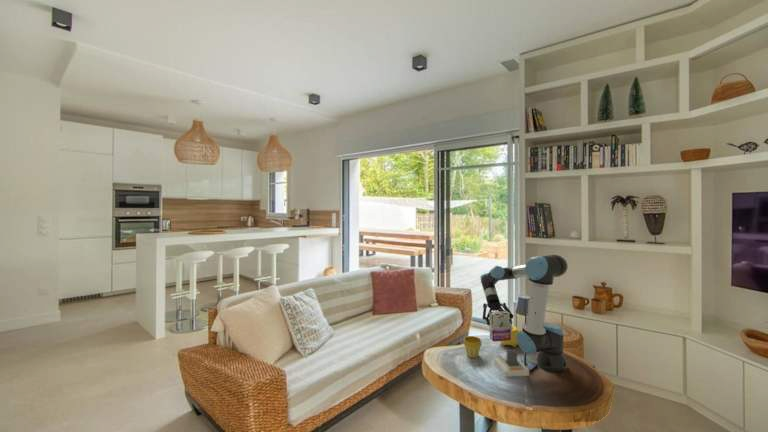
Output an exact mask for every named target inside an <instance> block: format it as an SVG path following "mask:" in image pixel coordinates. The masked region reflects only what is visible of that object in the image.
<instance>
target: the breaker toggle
mask: <svg viewBox="0 0 768 432" xmlns="http://www.w3.org/2000/svg"><path fill="white" fill-rule="evenodd" d="M506 357H507V361H505V362H506V363H507V364H508V365H509V366H519V364H518V362H517V358H518V352H517V350H506Z"/></svg>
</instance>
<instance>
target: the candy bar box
mask: <svg viewBox="0 0 768 432" xmlns="http://www.w3.org/2000/svg"><path fill="white" fill-rule="evenodd" d="M488 313H489V319H490V320H491V324H492V328H493V330H492V331H490V330H489V339H490V340H491V341H492V342H501V341H507V340H511V333H510V313H509V312H507V311H505V310H504V311H491V312H489V311H488Z"/></svg>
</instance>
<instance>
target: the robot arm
mask: <svg viewBox="0 0 768 432" xmlns="http://www.w3.org/2000/svg"><path fill="white" fill-rule="evenodd" d="M567 270H568V262H567V261H566V259H565V258H564V257H562V256H561V255H559V254H549V255H537V256H532V257H530V258H529V259H527V261H526V263H524V264H521V265H516V266H509V267H502V266H499V265H495V266H493V267H492V268H491V269H490V271H489V272H486V273H483V274H481V275H480V282H481V286H482V289H483V293H484V296H485V299H486V303H483V305H482V308H483V311H482V320H484V321H485V322H486V325H487V326H488V327H489V332H490V331H492V330H493V328H492V324H491V320H490V319H489V312H495V311H507V312H509V313H510V331H512V329H513V327H512V326H513V320H512V319H514V315H513V313H512V312H511V310H510V308H509V307H508V306H507V303H506V302H503V303H501V302H500V298H499V295H498V292H497V289H496V288H497V287H496V284H497V283H498V282H499V281H500V282H501V281H506V280H516V279H521V278H528V281H529V282H530V289H529V297H528V307H527V312H528V313H527V314H526V322H524V323H523V324H522V329H521V330H522V331H520V332H519V333H518V334H517V342H518V347H519V348H520V350H522V351H523V352H524V353H525V354H527V355H528V354H529V355H531V354H537V353H538V354H537V357H536V364H537V366H538V367H539V368H540V369H543V370H545V371H548V372H552V373H563V372H566V371H567V368H568V365H567V363H568V362H567V361H566V358H565V355H564V329H563V328H562V327H561V326H559V325H556V324H554V323H550V322H545V318H546V311H547V304H548V296H549V289H550V287H551V286H552V285H553V284H554V278H558V277H562V276H563V275H564V274H566V273H567ZM532 298H533V299H532ZM487 308H489V309H488V312H487ZM535 312H536V314H535Z"/></svg>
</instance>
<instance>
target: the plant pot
mask: <svg viewBox="0 0 768 432" xmlns="http://www.w3.org/2000/svg"><path fill="white" fill-rule="evenodd" d="M463 345H464V347H465V352H466V355H467V356H468V357H470V358H474V359H475V358H478V357H479V355H480V350H481V347H482V339H481V338H480V337H478V336H473V335H469V336H465V337H464V338H463Z"/></svg>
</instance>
